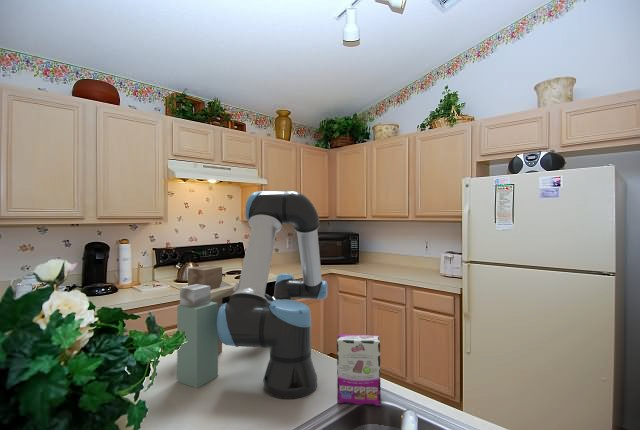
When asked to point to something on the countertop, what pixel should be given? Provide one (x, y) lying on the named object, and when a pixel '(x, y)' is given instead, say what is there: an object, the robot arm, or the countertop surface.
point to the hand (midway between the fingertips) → (228, 285)
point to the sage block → (198, 344)
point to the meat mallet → (202, 294)
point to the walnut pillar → (207, 283)
